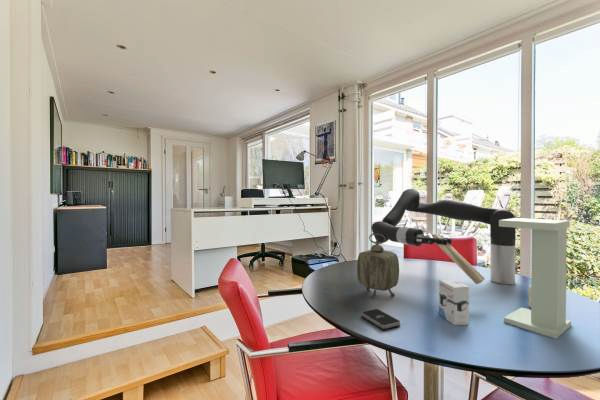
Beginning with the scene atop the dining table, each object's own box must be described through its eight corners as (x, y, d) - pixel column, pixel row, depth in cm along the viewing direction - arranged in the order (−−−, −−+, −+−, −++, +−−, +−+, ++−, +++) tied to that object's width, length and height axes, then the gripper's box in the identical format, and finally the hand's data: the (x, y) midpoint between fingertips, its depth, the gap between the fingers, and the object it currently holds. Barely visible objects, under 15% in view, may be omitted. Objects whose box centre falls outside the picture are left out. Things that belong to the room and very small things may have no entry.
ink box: (438, 314, 95) (438, 279, 94) (452, 313, 95) (452, 278, 95) (454, 325, 86) (454, 287, 86) (469, 325, 86) (469, 287, 86)
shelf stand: (516, 310, 97) (516, 217, 97) (571, 325, 86) (572, 220, 85) (498, 320, 89) (498, 220, 89) (555, 338, 78) (556, 223, 77)
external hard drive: (377, 314, 95) (377, 308, 95) (401, 328, 85) (401, 321, 85) (360, 318, 92) (360, 312, 92) (383, 332, 82) (383, 326, 82)
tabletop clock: (399, 297, 110) (399, 233, 110) (388, 304, 103) (388, 236, 103) (366, 289, 120) (366, 230, 119) (354, 294, 113) (354, 232, 113)
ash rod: (435, 238, 115) (439, 234, 113) (480, 283, 101) (485, 278, 99) (431, 238, 113) (435, 234, 112) (476, 284, 99) (481, 279, 98)
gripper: (419, 243, 127) (458, 249, 113) (399, 246, 120) (438, 253, 105) (419, 226, 127) (458, 231, 113) (399, 228, 119) (438, 233, 105)
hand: (448, 241), depth 109 cm, fingers closed on ash rod, 2 cm apart
